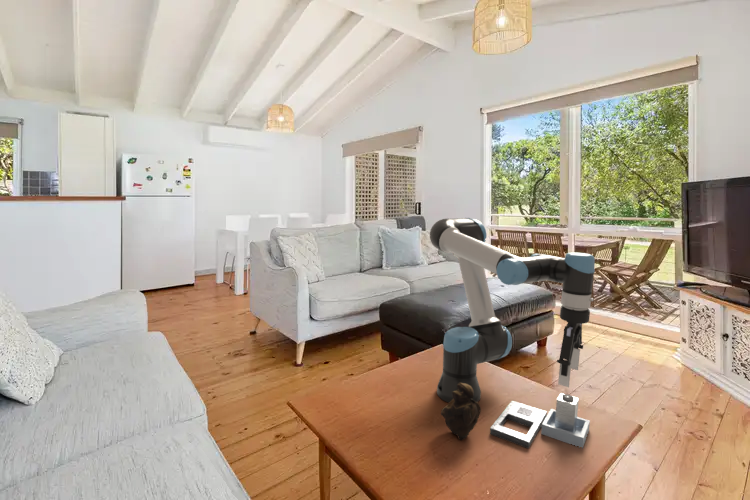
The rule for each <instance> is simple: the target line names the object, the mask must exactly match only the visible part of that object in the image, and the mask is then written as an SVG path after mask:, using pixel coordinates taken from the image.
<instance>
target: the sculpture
mask: <svg viewBox="0 0 750 500" xmlns="http://www.w3.org/2000/svg"><path fill="white" fill-rule="evenodd" d="M457 387H458V390H456V391H453V392H452V394H453V398H454V399H452V400H451V401H450V402H449V403H447V405H446V406H444V407H443V408H442V409H441V411H440V416H441V417H442V418H443V419H444V423H445V426H446V427H448V429H449V430H450V432H451V434H453V435H456V436H457V439H458V440H459V441H464V440H465V439H466V438H467V437H468V436H469V435H470V433H471V431H472V430H473V429H474V428H475V426H476V425H477V423H478V419H480V415H481V413H482V412H481V410H482V409H481V405H480V404H479V401H478V402H475V401H474V400H473V396H474V391H473V388H472V387H471V386H470V385H468V384H465V383H458V385H457Z"/></svg>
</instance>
